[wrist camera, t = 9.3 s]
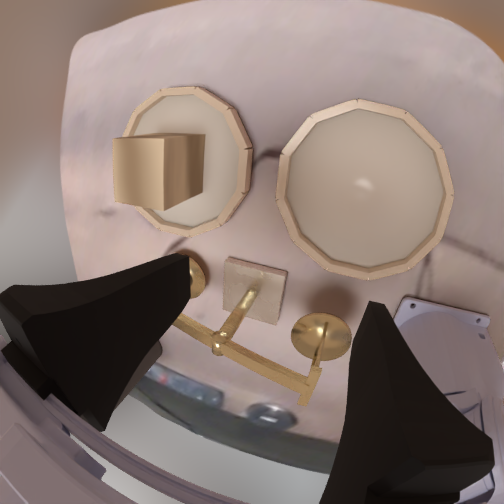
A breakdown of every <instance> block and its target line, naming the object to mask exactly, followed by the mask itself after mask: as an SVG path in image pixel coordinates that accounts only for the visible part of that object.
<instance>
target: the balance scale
mask: <svg viewBox="0 0 504 504" xmlns="http://www.w3.org/2000/svg"><path fill="white" fill-rule="evenodd" d="M178 254H179V253H178ZM182 255H184V254H182ZM186 256H187V255H186ZM189 260H190V287H191V298H196V297H198V296H199V295H200V294H201V293H202V292H203V290H204V288H205V276H204V273H203V271H202V269H201V268H200V266H199V265H198V264H197V263H196V262H195V261H194V260H193V259H192V258H190V257H189ZM286 276H287V272H286V271H282V270H278V269H274V268H270V267H266V266H262V265H258V264H254V263H250V262H246V261H242V260H238V259H235V258H231V257H228V258H227V259H226V260H225V264H224V288H223V310H226V311H229V312H232V313H231V314H230V316H229V317H228V319H227V320H226V321H225V323H224V324H223V326H222V327H221V329H220V330H219V331H216V332H214V331H212V330H210V329H209V328H207V327H205V326H203V325H201V324H200V323H198V322H196V321H194V320H193V319H191V318H189V317H187V316H186V315H184V314H182V313H181V314H180V315H179V316H178V318H177V319H176V320H175V321H174V322H173V324H172V325H174V326H175V327H177V328H179V329H180V330H182V331H183V332H185V333H187V334H188V335H190V336H192V337H193V338H195V339H197V340H198V341H200V342H202V343H203V344H205V345H207V346H209V347H210V348H212V353H213V354H214V355H217V356H222V355H224V356H226V357H228V358H230V359H232V360H234V361H235V362H237V363H239V364H241V365H243V366H245V367H247V368H249V369H251V370H252V371H254V372H256V373H258V374H260V375H262V376H264V377H266V378H268V379H270V380H272V381H274V382H277V383H279V384H281V385H283V386H285V387H287V388H289V389H291V390H294V391H296V392H298V393H300V394H301V395H300V397H299V400H298V403H297V404H298V405H302V406H307V404H308V401H309V399H310V397H311V395H312V393H313V390H314V388H315V386H316V384H317V381H318V379H319V377H320V375H321V371H322V368H319V364H320V361H329V360H333V359H336V358H339V357H341V356H342V355H344V354H345V353H346V352H347V351H348V349H349V347H350V345H351V340H352V334H351V330H350V328H349V326H348V325H347V324H346V323H345V322H344V321H343V320H342V319H340V318H339V317H337V316H335V315H332V314H328V313H311V314H308V315H305V316H303V317H301V318H300V319H299V320H298V321H297V322H296V323H295V324H294V326H293V329H292V332H291V340H292V343H293V345H294V347H295V348H296V349H297V351H298V352H300V353H301V354H302V355H304V356H306V357H308V358H310V359H313V361H312V365H311V368H310V372H309V375H308V377H306V376H303V375H301V374H299V373H297V372H294V371H292V370H290V369H288V368H286V367H283V366H281V365H279V364H277V363H275V362H273V361H271V360H269V359H267V358H264V357H262V356H260V355H258V354H256V353H254V352H252V351H250V350H248V349H246V348H244V347H242V346H240V345H239V344H237V343H235V342H233V341H231V338H232V337H233V335H234V334H235V332H236V330H237V329H238V327H239V325H240V324H241V322H242V321H243V319H244V317H249V318H252V319H255V320H259V321H262V322H266V323H269V324H273V325H276V324H277V322H278V320H279V314H280V309H281V304H282V298H283V293H284V288H285V282H286ZM191 298H190V299H191ZM315 362H316V363H315Z"/></svg>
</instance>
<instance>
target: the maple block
mask: <svg viewBox="0 0 504 504" xmlns="http://www.w3.org/2000/svg"><path fill="white" fill-rule="evenodd" d="M204 151H205V134H188V133H151V134H142V135H135V136H127V137H121V138H114V139H113V179H114V197H115V202H119V203H124V204H129V205H134V206H140V207H145V208H150V209H155V210H160V211H165V210H167V209H169V208H171V207H174V206H176V205H178V204H180V203H182V202H184V201H186V200H188V199H190V198H192V197H194V196H196V195H199V194H201V193H203V171H204Z"/></svg>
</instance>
